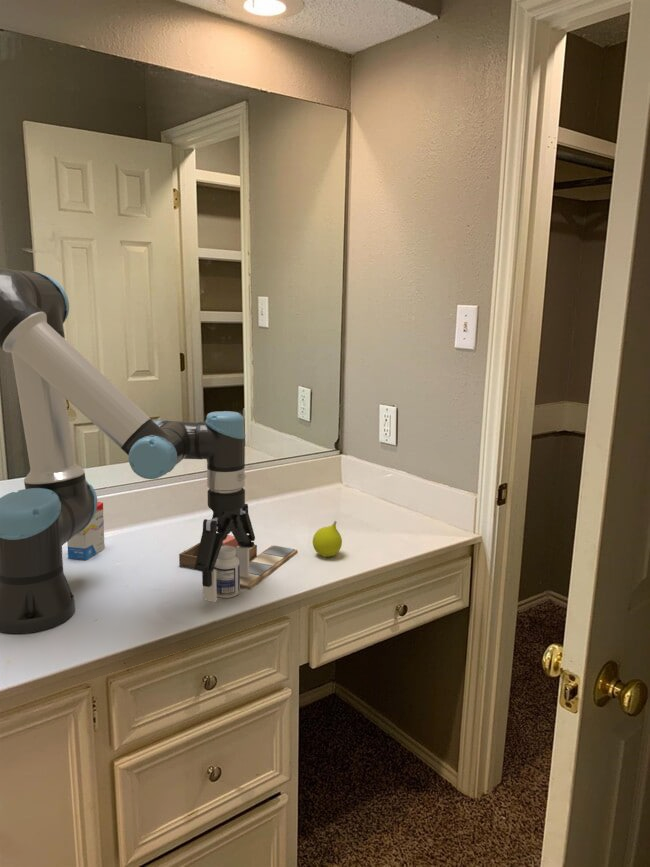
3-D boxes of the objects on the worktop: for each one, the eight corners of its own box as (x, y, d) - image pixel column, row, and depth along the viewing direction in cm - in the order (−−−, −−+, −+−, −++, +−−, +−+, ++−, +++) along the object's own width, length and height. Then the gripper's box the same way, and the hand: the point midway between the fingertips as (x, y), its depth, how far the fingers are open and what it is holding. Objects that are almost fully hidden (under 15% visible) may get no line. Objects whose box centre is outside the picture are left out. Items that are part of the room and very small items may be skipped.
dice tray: (228, 576, 145) (228, 563, 145) (179, 566, 150) (179, 554, 149) (256, 556, 157) (256, 545, 156) (210, 548, 162) (210, 536, 161)
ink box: (86, 561, 152) (83, 500, 149) (67, 558, 153) (64, 498, 150) (105, 548, 160) (103, 490, 157) (87, 546, 161) (84, 488, 158)
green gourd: (346, 558, 157) (348, 518, 156) (320, 563, 154) (321, 522, 152) (332, 548, 164) (334, 510, 162) (307, 552, 160) (308, 513, 159)
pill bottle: (224, 585, 140) (223, 542, 139) (244, 591, 138) (244, 547, 136) (208, 595, 136) (207, 550, 134) (229, 600, 133) (229, 555, 131)
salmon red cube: (223, 543, 150) (237, 537, 154) (207, 539, 152) (221, 533, 157) (223, 564, 151) (237, 557, 155) (207, 559, 153) (221, 552, 158)
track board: (249, 589, 139) (249, 586, 139) (221, 583, 141) (221, 580, 141) (297, 552, 160) (297, 549, 160) (272, 547, 163) (272, 544, 163)
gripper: (208, 507, 120) (210, 615, 124) (270, 476, 142) (270, 569, 146) (174, 501, 123) (177, 607, 127) (240, 472, 145) (241, 563, 149)
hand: (227, 587), depth 137 cm, fingers open, 12 cm apart
